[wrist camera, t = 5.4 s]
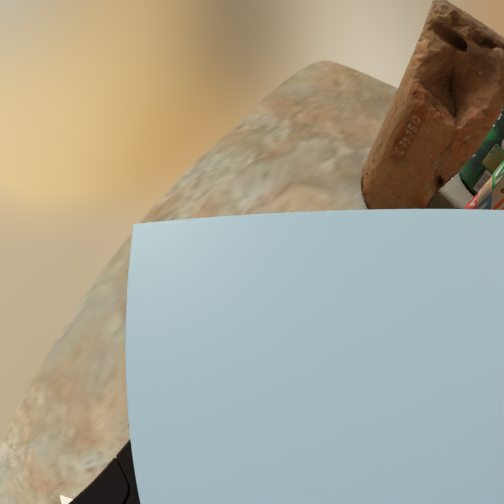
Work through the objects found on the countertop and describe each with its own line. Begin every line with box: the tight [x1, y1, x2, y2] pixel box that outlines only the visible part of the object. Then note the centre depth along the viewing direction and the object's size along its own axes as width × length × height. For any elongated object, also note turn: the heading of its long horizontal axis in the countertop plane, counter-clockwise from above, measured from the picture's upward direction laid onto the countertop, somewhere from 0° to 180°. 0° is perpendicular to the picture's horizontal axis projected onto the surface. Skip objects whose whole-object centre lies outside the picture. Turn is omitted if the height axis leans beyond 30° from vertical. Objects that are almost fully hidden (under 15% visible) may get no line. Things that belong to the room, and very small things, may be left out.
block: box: [361, 0, 504, 210], centre depth 18 cm, size 11×8×20 cm
